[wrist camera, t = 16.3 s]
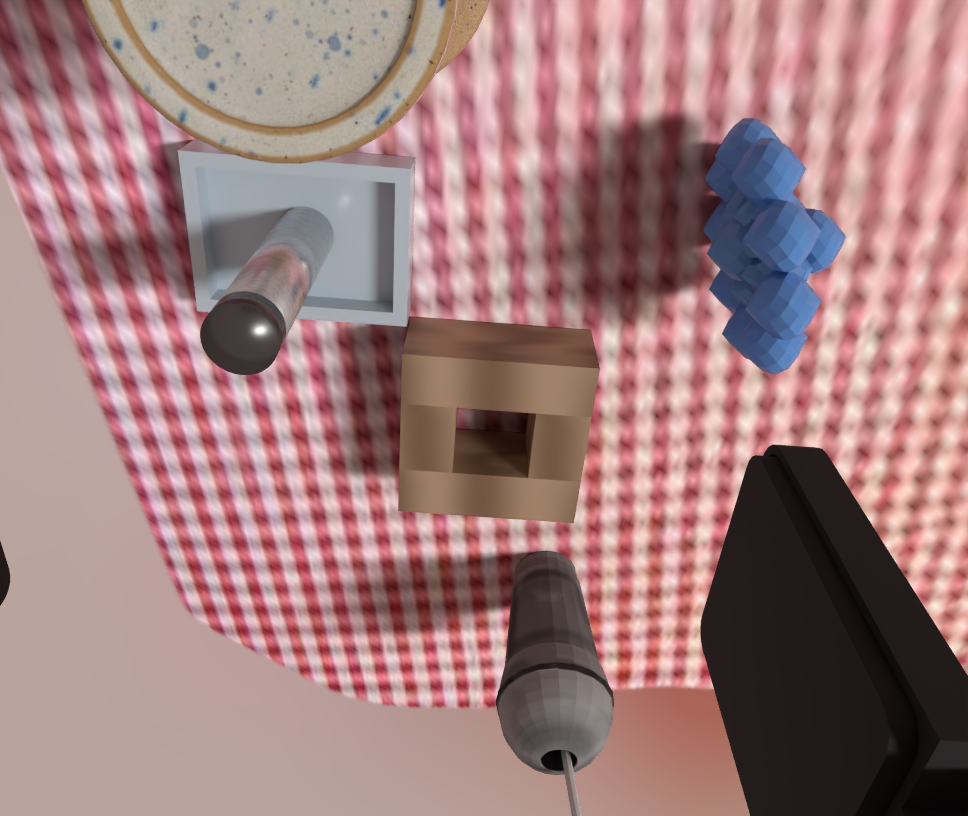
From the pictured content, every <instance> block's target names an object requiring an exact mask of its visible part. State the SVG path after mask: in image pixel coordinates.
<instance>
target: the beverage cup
mask: <svg viewBox="0 0 968 816" xmlns="http://www.w3.org/2000/svg"><path fill="white" fill-rule="evenodd" d="M496 706H497V711H498V715H499V718H500V723H501V727H502V731H503V735H504V737H505V739H506V741H507V743H508V745H509V746H510V747H511V749H512V750H513V752H514V753H515V754H516V756H517V757H518V758H519V759H520V760H521V761H522V762H524V763H525V764H527V765H528V766H530V767H531V768H533V769H535V770H537V771H539V772H542V773H545V774H553V775H561V774H565V778H566V784H567V790H568V796H569V801H570V807H571V813H572V816H581V810H580V804H579V799H578V793H577V788H576V782H575V777H574V772H576V771H579V770H580V769H582V768H584V767H585V766H587V765H588V764H590V763H591V762H592V761H593V760H594V759H595V758H596V757H597V756H598V754H599V753H600V752H601V751H602V749H603V748H604V745H605V744H606V741H607V739H608V736H609V733H610V730H611V727H612V719H613V715H612V711H613V708H614V699H613V692H612V690H611V688H610V687H609V685H608V681H607V678H606V676H605V673H604V671H603V668H602V666H601V665H600V663H599V660H598V656H597V652H596V647H595V643H594V639H593V635H592V631H591V627H590V623H589V619H588V615H587V611H586V607H585V603H584V599H583V595H582V591H581V587H580V582H579V580H578V578H577V575H576V573H575V567H574V565H573V564H572V562H571V561H570V560H569V559H568V558H567V557H565V556H564V555H562V554H559V553H557V552H550V551H542V552H536V553H533V554H530V555H528V556H526V557H525V558H524V559H522V560H521V561H520V563H519V564H518V565H517V567H516V571H515V580H514V584H513V588H512V598H511V609H510V619H509V629H508V640H507V650H506V661H505V668H504V672H503V676H502V680H501V684H500V688H499V691H498V695H497V699H496Z"/></svg>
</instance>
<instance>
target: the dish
mask: <svg viewBox="0 0 968 816" xmlns="http://www.w3.org/2000/svg"><path fill="white" fill-rule="evenodd" d="M178 157H179V165H180V173H181V182H182V190H183V198H184V206H185V214H186V222H187V231H188V239H189V247H190V255H191V263H192V271H193V280H194V288H195V296H196V304H197V311H202V312H210V311H211V310H212V309H213V307H214V306H215V305H216V303H217V302H218V301H219V299H220V298H221V297H222V295H223V294H224V293H225V291H226V290H227V289H228V287H229V286H230V285H231V283H232V282H233V281H234V279H235V278H236V277H237V275H238V274H239V273H240V271H241V270H242V269H243V267H244V266H245V265H246V263H247V262H248V261H249V259H250V258H251V257H252V255H253V254H254V253H255V251H256V250H257V249H258V247H259V246H260V245H261V243H262V242H263V241H264V239H265V238H266V236H267V235H268V234H269V232H270V231H271V230H272V228H273V227H274V226H275V224H276V223H277V222H278V220H279V219H280V218H281V216H282V215H283V214H284V213H285V212H286V211H288V210H290V209H292V208H295V207H300V206H303V207H310V208H313V209H316V210H317V211H319V212H321V213H322V214H323V215H324V216H325V217H326V218H327V219H328V220H329V222H330V224H331V226H332V228H333V232H334V243H333V246H332V249H331V250H330V252H329V254H328V256H327V258H326V260H325V262H324V264H323V266H322V268H321V270H320V272H319V274H318V276H317V278H316V280H315V282H314V284H313V286H312V288H311V290H310V291H309V293H308V295H307V297H306V299H305V301H304V303H303V305H302V307H301V309H300V311H299V313H298V315H297V317H296V319H310V320H323V321H337V322H350V323H364V324H377V325H391V326H404V327H407V323H408V319H409V315H410V311H411V288H412V253H413V218H414V183H415V157H405V156H392V155H380V154H367V153H355V152H348V153H345V154H342V155H340V156H337V157H334V158H331V159H327V160H321V161H315V162H308V163H302V164H287V163H269V162H263V161H257V160H251V159H246V158H243V157H240V156H237V155H234V154H230V153H227V152H224V151H221V150H219V149H217V148H215V147H213V146H211V145H209V144H206V143H204V142H202V141H200V140H193V141H191V142H190V143H188V144H187V145H185V146H184V147H182V148H181V149H179V150H178Z"/></svg>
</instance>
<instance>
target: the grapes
mask: <svg viewBox="0 0 968 816" xmlns="http://www.w3.org/2000/svg"><path fill="white" fill-rule="evenodd" d="M715 157H716V160H715V162H714V163H713V165H712V166H711V168H710V170H709V172H708V173H707V175H706V177H705V180H706V182H707V183H708V184H709V185H710V187H711V188H712V189H713V190H714V191H715V193H716V194H717V195H718V196H719V197H720V198H721V199H723V200H724V201H722V202H721V203H720V204H719V205H718V206H717V208H716V209H715V210H714V212H713V213H712V215H711V217H710V218H709V220H708V221H707V223H706V225H705V227H704V229H703V232H704V233H705V234H706V235H707V237H708V238H709V239H710V240H711V241H712V244H711V246H710V248H709V250H708V252H707V254H708V255H709V256H710V258H711V259H712V260H713V261H714V262H715V264H716V265H717V266H718V267H719V268H720V269H721V270H720V271H719V273H718V274H717V276H716V277H715V279H714V281H713V283H712V285H711V287H710V291H711V292H712V293H713V294H714V295H715V297H716V298H717V299H718V300H719V301H720V302H721V303H722V304H723V305H724V306H725V307H726V308H727V309H729V310H730V311H731V312H732V313H733V315H732V316H731V318H730V319H729V321H728V323H727V325H726V327H725V329H724V331H723V333H722V334H723V335H724V337H725V338H726V339H727V340H728V341H729V343H730V344H731V345H732V346H733V347H734V348H735V349H736V350H737V351H739V352H740V353H741V354H742V355H743V356H744V357H745V358H747V359H750V360H751V361H752V362H753V363H754V364H755V365H756V366H758V367H759V368H760V369H761V370H762V371H765V372H768V373H771V374H776V373H779V372H782V371H784V370H786V369H789V367H790V366H791V365H792V363H793V362H794V361H795V360H796V358H797V357H798V355H799V353H800V351H801V349H802V347H803V345H804V343H805V341H806V339H807V337H808V336H807V335H806V334H805V333H804V330H805V329H806V328H807V326H808V325H809V324H810V323H811V321H812V319H813V317H814V315H815V313H816V311H817V309H818V307H819V305H820V303H821V301H822V300H821V299H820V298H819V297H818V296H817V294H816V293H815V292H814V291H813V289H812V288H811V287H810V286H809V285H808V283H807V282H806V281H807V279H808V277H809V275H810V273H819V272H821V271H823V270H825V269H826V268H828V267H829V266H830V264H831V263H832V262H833V260H834V259H835V258H836V256H837V254H838V252H839V251H840V249H841V247H842V245H843V243H844V241H845V239H846V236H845V235H844V233H843V232H842V231H841V229H840V228H839V227H838V226H837V224H836V223H835V222H834V221H833V219H832V218H830V217H829V216H828V215H826V214H825V213H824V212H822V211H821V210H815V209H806V208H805V207H804V206H803V204H802V203H801V202H800V201H799V200H798V198H796V197H795V195H794V194H793V193H792V192H793V190H794V189H795V188H796V186H797V184H798V183H799V181H800V179H801V177H802V175H803V173H804V171H805V169H806V168H805V167H804V165H803V164H802V163H801V161H800V160H799V159H798V158H797V156H796V155H795V154H794V153H793V151H792V150H791V149H790V148H789V147H788V146H786V145H785V144H783V143H782V142H781V141H780V140H779V138H778V137H777V136H776V135H775V133H774V132H773V131H772V130H771V128H769V127H768V126H767V125H765V124H764V123H762V122H761V121H760V120H757V119H752V118H743V119H742V120H741V121H740V122H738V123H737V124H736V125H734V126H733V128H732V129H731V130H730V131H729V133H728V134H727V136H726V137H725V139H724V141H723V142H722V144H721V145H720V147H719V149H718V151H717V153H716V155H715Z"/></svg>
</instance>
